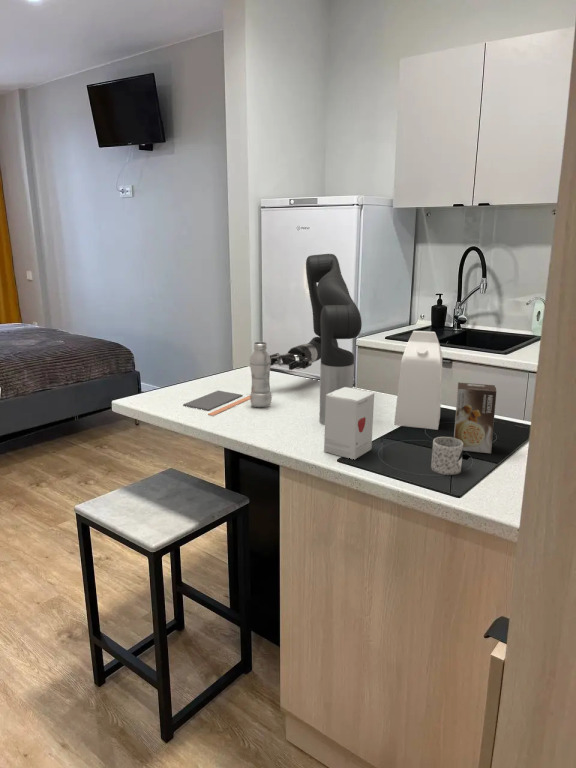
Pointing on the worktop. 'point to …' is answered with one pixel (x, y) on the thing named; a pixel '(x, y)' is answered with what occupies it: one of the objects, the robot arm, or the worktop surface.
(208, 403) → the mat
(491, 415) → the brown food box
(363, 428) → the supplement box
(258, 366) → the plastic bottle
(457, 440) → the mug
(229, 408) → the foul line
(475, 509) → the worktop surface
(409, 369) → the milk
